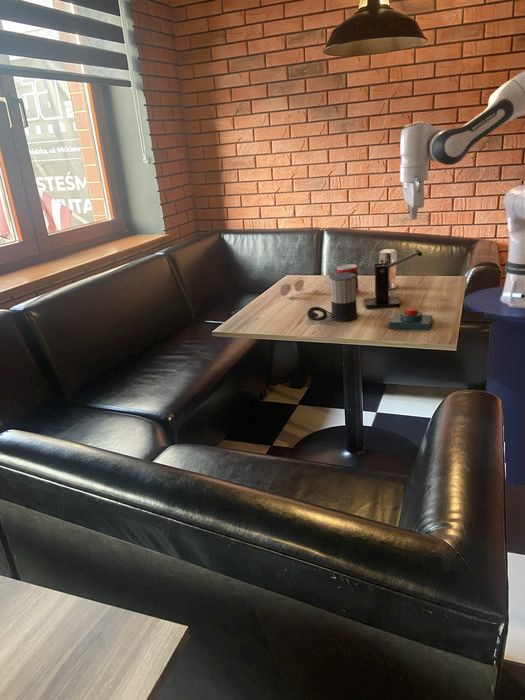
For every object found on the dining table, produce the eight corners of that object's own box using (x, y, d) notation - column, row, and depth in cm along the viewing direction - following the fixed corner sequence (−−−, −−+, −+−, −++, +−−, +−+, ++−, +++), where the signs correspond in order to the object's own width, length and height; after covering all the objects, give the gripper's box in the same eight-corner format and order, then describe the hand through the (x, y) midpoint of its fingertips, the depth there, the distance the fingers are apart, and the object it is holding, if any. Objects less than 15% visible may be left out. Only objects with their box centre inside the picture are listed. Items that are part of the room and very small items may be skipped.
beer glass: (386, 284, 222) (385, 248, 217) (400, 286, 218) (400, 249, 212) (376, 288, 218) (375, 252, 213) (391, 290, 213) (390, 253, 208)
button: (418, 312, 172) (418, 307, 172) (416, 316, 169) (416, 311, 169) (406, 312, 174) (406, 307, 173) (404, 315, 171) (404, 310, 170)
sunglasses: (304, 289, 227) (304, 278, 224) (317, 295, 221) (318, 284, 219) (278, 297, 219) (278, 285, 217) (292, 303, 213) (292, 291, 211)
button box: (432, 321, 174) (432, 309, 173) (428, 330, 167) (428, 318, 165) (395, 319, 179) (395, 308, 178) (389, 328, 172) (389, 316, 170)
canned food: (339, 290, 220) (338, 264, 216) (359, 290, 218) (358, 263, 214) (336, 295, 213) (335, 268, 209) (357, 295, 211) (355, 268, 207)
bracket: (397, 299, 201) (397, 260, 196) (400, 306, 193) (400, 266, 187) (364, 301, 202) (363, 262, 197) (366, 308, 194) (365, 268, 189)
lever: (420, 253, 192) (418, 247, 191) (423, 256, 187) (420, 250, 186) (378, 272, 196) (376, 266, 195) (379, 275, 191) (377, 269, 191)
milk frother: (363, 316, 185) (362, 274, 180) (328, 327, 178) (325, 284, 173) (337, 309, 197) (334, 269, 192) (302, 319, 189) (299, 278, 184)
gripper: (429, 176, 164) (428, 222, 169) (419, 173, 183) (418, 214, 188) (408, 178, 165) (408, 224, 170) (400, 174, 184) (400, 215, 189)
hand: (413, 218), depth 179 cm, fingers closed
